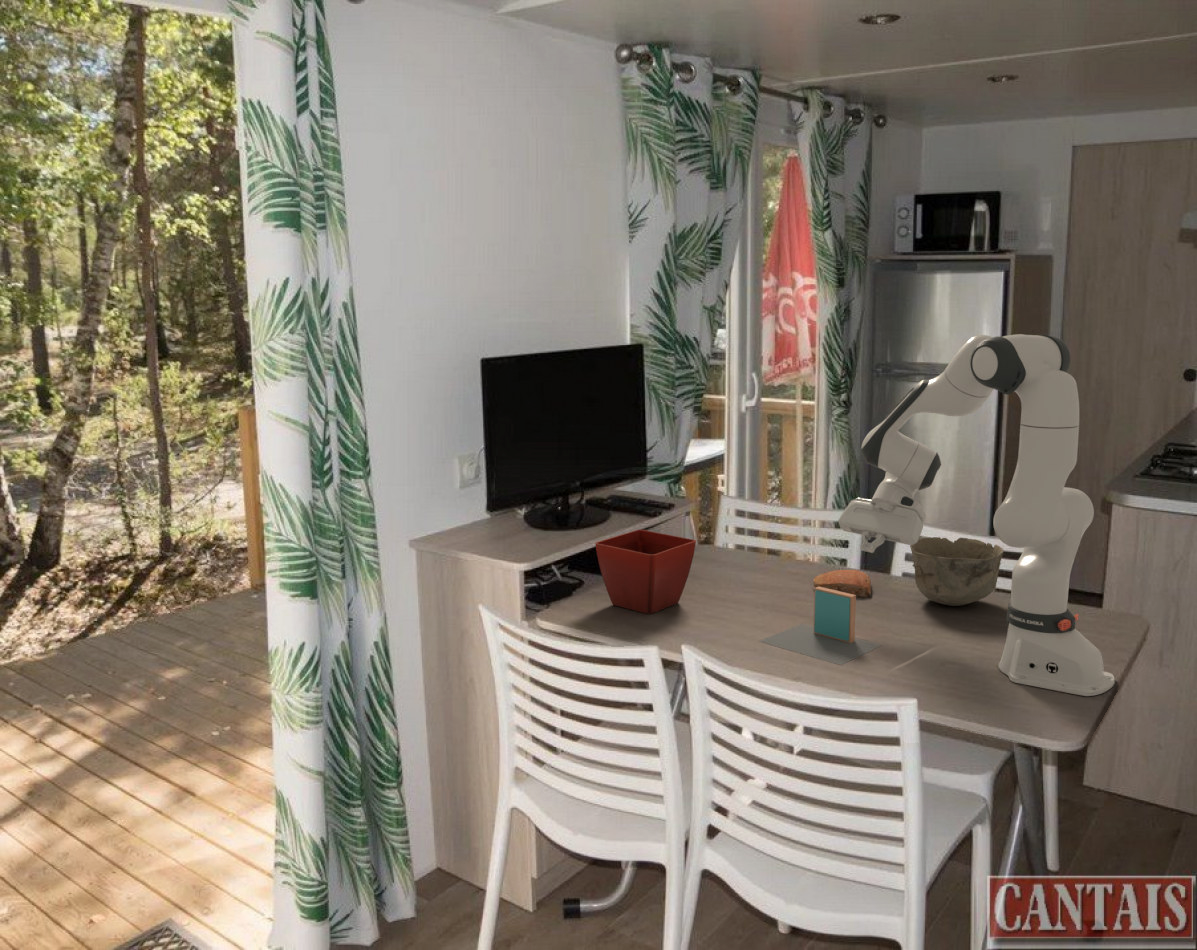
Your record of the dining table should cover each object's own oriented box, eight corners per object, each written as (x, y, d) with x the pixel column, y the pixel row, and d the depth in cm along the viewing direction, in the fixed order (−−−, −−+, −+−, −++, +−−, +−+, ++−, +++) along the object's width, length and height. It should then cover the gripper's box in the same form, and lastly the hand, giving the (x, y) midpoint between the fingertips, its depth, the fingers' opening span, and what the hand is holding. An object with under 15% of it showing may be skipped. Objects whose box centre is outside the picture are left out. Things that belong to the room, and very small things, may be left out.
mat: (882, 647, 243) (882, 645, 243) (840, 667, 232) (840, 664, 231) (801, 625, 259) (801, 623, 259) (758, 643, 247) (758, 641, 247)
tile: (854, 641, 246) (856, 595, 244) (849, 643, 245) (851, 597, 243) (817, 631, 253) (818, 586, 251) (812, 633, 252) (813, 588, 250)
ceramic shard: (815, 561, 296) (870, 571, 294) (811, 584, 297) (866, 594, 294) (816, 569, 282) (873, 579, 279) (811, 593, 282) (869, 603, 280)
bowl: (1016, 605, 271) (1020, 548, 268) (962, 622, 259) (965, 562, 256) (944, 585, 289) (947, 531, 286) (890, 600, 277) (892, 544, 274)
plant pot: (697, 602, 278) (698, 539, 275) (653, 621, 264) (652, 554, 261) (639, 589, 290) (639, 528, 287) (594, 606, 276) (593, 543, 273)
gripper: (848, 489, 264) (824, 535, 260) (924, 503, 250) (900, 551, 245) (857, 504, 268) (833, 549, 264) (932, 518, 254) (908, 566, 249)
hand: (866, 550), depth 254 cm, fingers closed
